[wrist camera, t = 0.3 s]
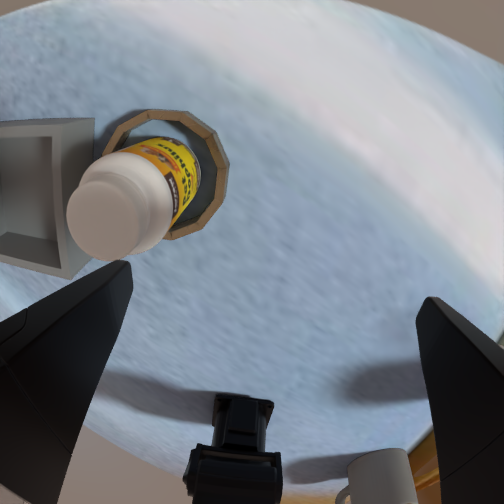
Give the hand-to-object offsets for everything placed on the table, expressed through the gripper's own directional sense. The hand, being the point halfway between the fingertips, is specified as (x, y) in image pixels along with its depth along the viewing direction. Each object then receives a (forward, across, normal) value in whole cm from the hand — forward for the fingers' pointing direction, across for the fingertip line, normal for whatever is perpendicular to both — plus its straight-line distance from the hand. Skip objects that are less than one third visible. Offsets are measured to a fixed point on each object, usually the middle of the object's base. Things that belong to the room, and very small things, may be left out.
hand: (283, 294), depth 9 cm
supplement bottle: (+15, +8, +2) cm, 17 cm away
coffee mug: (+12, -21, +43) cm, 49 cm away
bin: (+14, +20, +3) cm, 25 cm away
